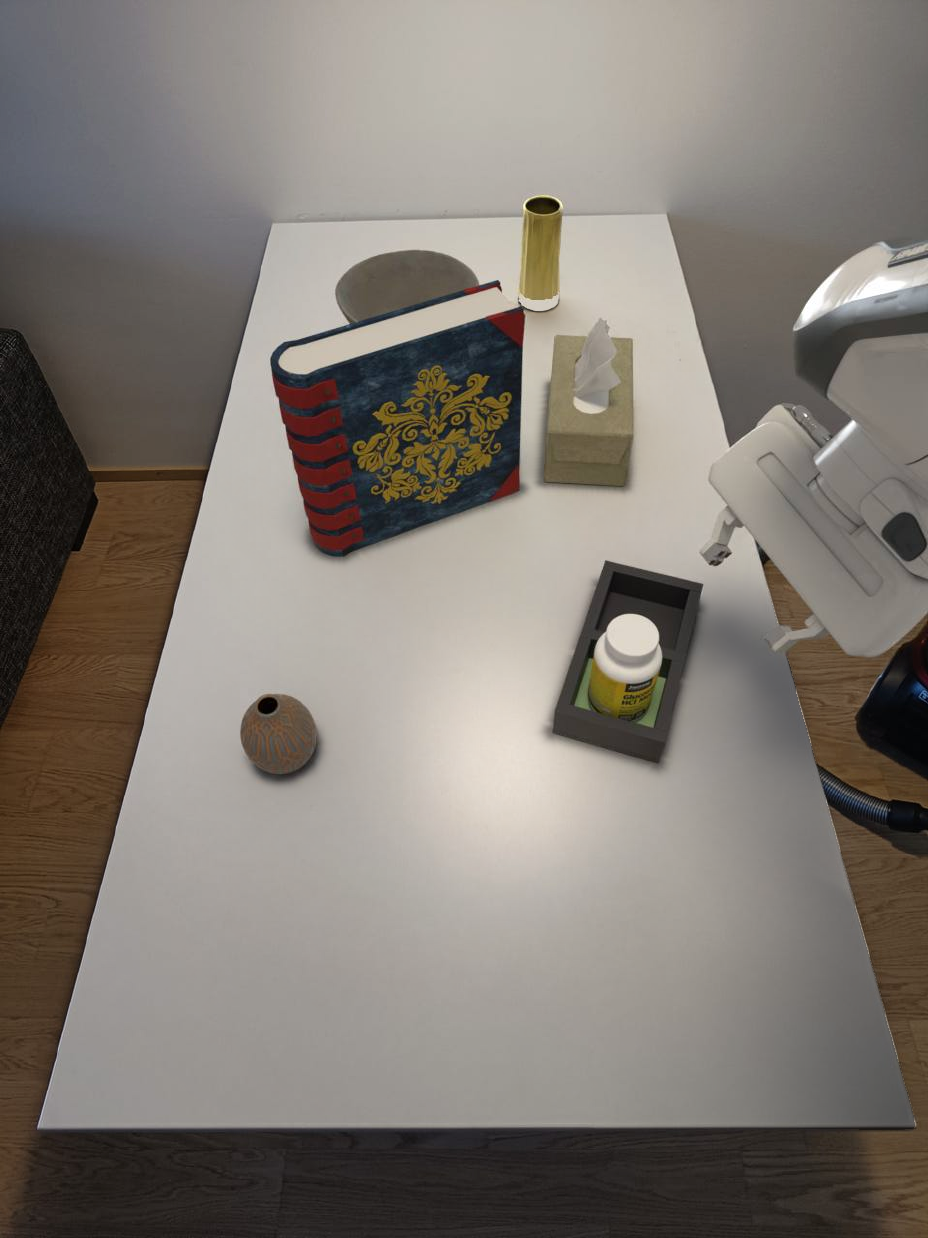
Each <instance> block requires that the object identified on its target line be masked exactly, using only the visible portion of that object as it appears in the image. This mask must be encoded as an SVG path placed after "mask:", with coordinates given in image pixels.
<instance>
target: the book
mask: <svg viewBox="0 0 928 1238" xmlns="http://www.w3.org/2000/svg"><path fill="white" fill-rule="evenodd" d="M500 281H501V280H499V279H496V280H493V281H489V282H485V283H483V284H479V285H478V286H475V287H471V288H467V289H464V290H462V291H459V292H456V293H452V294H449V295H446V296H442V297H439V298H435V299H432V300H429V301H425V302H422V303H419V304H415V305H412V306H409V307H405V308H402V309H399V310H395V311H392V312H389V313H385V314H382V315H379V316H375V317H372V318H368V319H365V320H362V321H358V322H355V323H352V324H350V323H349V324H345V325H341V326H338V327H335V328H331V329H329V330H325V331H322V332H318V333H315V334H313V335H308V336H305V337H302V338H298V339H294V340H293V339H292V340H288V341H283V342H282V343H281V344H279V345H278V346H277V347H276V348H275V349H274V351H272V353H271V356H270V359H269V361H270V370H271V378H272V383H273V389H274V393H275V396H276V397H277V398H278V405H279V411H280V412H279V413H280V416H281V422H282V424H283V425H284V426H285V427H284V429H285V435H286V440H287V444H288V449H289V450H290V451H291V456H292V462H293V468H294V469H293V470H294V471H295V473H296V476H297V477H296V478H297V484H298V490H299V492H300V495H301V497H302V501H303V509H304V512H305V516H306V518H307V520H308V528H309V533H310V536H311V539H312V541H313V542H314V544H315V546H316V548H317V549H318V550H319V551H321V553H324V554H326V555H329V556H333V557H345V556H346V555H348V554H349V553H352V552H353V551H357V550H359V549H361V548H364V547H367V546H370V545H372V544H376V543H378V542H381V541H383V540H386V539H390V538H392V537H394V536H397V535H400V534H403V533H406V532H409V531H412V530H413V529H417V528H419V527H423V526H425V525H428V524H431V523H433V522H436V521H439V520H442V519H445V518H447V517H450V516H452V515H456V514H458V513H460V512H463V511H466V510H469V509H472V508H476V507H477V506H480V505H483V504H486V503H488V502H490V503H491V502H492V501H495V500H498V499H501V498H504V497H506V496H509V495H512V494H514V493H517V492H519V491H520V470H521V469H520V468H521V431H522V428H521V427H522V394H523V390H522V389H523V356H524V355H523V353H524V349H523V348H524V336H525V324H526V314H525V308H523V307H522V306H521V305H520V306H517V307H515V306H514V305H513V304H512V302H510V300H509V299H508V298H507V296H505V294H504V293H503V288H502V286H501V282H500Z"/></svg>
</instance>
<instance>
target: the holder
mask: <svg viewBox="0 0 928 1238" xmlns="http://www.w3.org/2000/svg"><path fill="white" fill-rule="evenodd" d="M603 563H604V564H603V566H602V569H601V572H600V575H599V578H598V581H597V584H596V587H595V590H594V593H593V596H592V599H591V602H590V605H589V607H588V610H587V613H586V617H585V619H584V623H583V626H582V629H581V632H580V635H579V637H578V640H577V643H576V646H575V650H574V653H573V655H572V657H571V658H572V659H571V661H570V664H569V667H568V671H567V673H566V675H565V679H564V682H563V686H562V687H561V691H560V694H559V697H558V700H557V703H556V706H555V709H554V714H553V724H552V725H553V726H552V734H555V735H560V736H563V737H566V738H569V739H572V740H575V741H580V742H582V743H586V744H590V745H594V746H596V747H600V748H603V749H607V750H611V751H614V752H617V753H621V754H624V755H628V756H632V757H635V758H638V759H641V760H646V761H649V762H651V763H654V764H655V763H656V764H659V762H660V759H661V755H662V752H663V750H664V747H665V743H666V739H667V735H668V731H669V727H670V722H671V719H672V716H673V715H672V714H673V711H674V707H675V703H676V699H677V695H678V691H679V686H680V682H681V678H682V674H683V670H684V666H685V661H686V657H687V653H688V650H689V646H690V641H691V638H692V633H693V628H694V625H695V620H696V616H697V614H698V608H699V605H700V600H701V596H702V593H703V589H704V583H701V582H698V581H693V580H689V579H684V578H681V577H677V576H672V575H668V574H664V573H660V572H657V571H656V572H655V571H652V570H647V569H643V568H640V567H639V568H638V567H636V566H631V565H628V564H627V565H626V564H622V563H618V562H615V561H610V560H604V562H603ZM624 614H637V615H641V616H643V617H645V618H647V619H649V620H650V621H651V622H652V623H653V624H654V625H655V626H656V628H657V630H658V632H659V645H660V648H661V651H662V664H661V667H660V671H659V674H658V678H657V682H656V685H655V689H654V692H653V696H652V699H651V703H650V706H649V708H648V710H647V712H646V713H645V715H644V716H643V717H642V718H640V719H639V720H637V721H635V722H631V721H627V720H623V719H620V718H616V717H613V716H609V715H606V714H602V713H598V712H595V711H593V710H592V708H591V707H590V704H589V702H588V686H589V680H590V674H591V669H592V663H593V657H594V651H595V647H596V644H597V641H598V640H599V638H600V637H601V636H602V635H603V634H604V633H605V632H606V631H607V627H608V625H609V624H610V622H611V621H612V620H613V619H615V618H616V617H618V616H621V615H624Z"/></svg>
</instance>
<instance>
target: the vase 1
mask: <svg viewBox="0 0 928 1238" xmlns="http://www.w3.org/2000/svg"><path fill="white" fill-rule="evenodd" d="M239 735H240V743H241V746H242V748H243V751H244V753H245V754H246V756H247V758H248V760H250V762H251V763H252V764H253V765H255V766H256V767H257V768H259V769H260V770H262V771H264V772H266V773H270V774H276V775H283V774H284V775H285V774H289V773H292V772H294V771H297V770H299V769H300V768H302V767H303V766H304V765H305V764H306V763H307V762H308V761H309V759H311V756H312V755H313V753H314V751H315V748H316V745H317V739H318V733H317V726H316V722H315V719H314V716H313V715H312V713H311V711H310V710H309V708H307V707H306V705H305V704H304V703H303V702H302V701H300V700H299V699H297V698H295V697H293V696H291V695H289V694H284V693H266V694H262V695H261V696H259V697H258V698H257V699H256V700H255V701H253V703H251V704H250V705H249V706H248V708H247V710H246V711H245V713H244V714H243V717H242V720H241V723H240V734H239Z"/></svg>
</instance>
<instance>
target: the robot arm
mask: <svg viewBox="0 0 928 1238" xmlns="http://www.w3.org/2000/svg"><path fill="white" fill-rule="evenodd" d="M791 340H792V341H791V344H792V345H791V346H792V349H791V350H792V361H793V369H794V374H795V377H796V378H798V379H799V380H800V381H802V383H804V384H805V385H807V386H808V387H810V389H812V390H813V391H815V392H816V393H817V394H819V395H820V396H821V397H823V398H824V399H825V400H827V401H831V402H832V403H833V404H834V405H835V406H836V407H838V408H839V409H840V410H841V411H842V412H843V413H844V414H845V415H847V416H848V417H849V418H850V419H851V420H849V422H847V423H846V424H844V426H843V427H842V428H841V429H840V430H839V431H838V432H837V433H836V434H835V435H834V436H833V435H832V434H831V433H830V432H829V431H828V430H827V429H826V427H824V426H823V425H822V424H820V423H819V422H818V421H817V420H816V419H815V418H814V417H813V414H812V413H811V411H809V409H807V408H806V407H805V406H804V405H802V404H793V403H789V402H788V403H787V402H786V403H780V404H777V405H775V406H773V407H772V408H771V409H770V410H769V411H768V412H767V413H766V414H765V415H764V416H763V417H762V418H761V419H760V420H759V421H758V422H757V424H756V426H755V428H754V429H752V430H751V431H750V432H748V433H747V434H745V435H744V436H743V437H741V438H740V439H739V440H738V441H736V442H735V443H733V445H731V447H729V448H727V450H726V451H725V452H723V454H721V455H720V456H719V457H718V458H717V459H716V460H715V461H714V462H713V463H712V464H711V465H710V469H709V474H708V478H707V479H708V483H709V484H710V485H711V486H712V488H713V489H714V490H715V492H716V493H717V494H718V495H719V496H720V498H721V499H722V500H723V501H724V503H725V504H726V507H724V508H722V510H721V511H720V512H719V513H718V515H717V518H716V521H715V524H714V528H713V531H712V534H711V539H709V540H708V542H707V543H705V545H703V547H701V548H700V550H699V554H700V556H701V557H702V558H703V559H704V560H705V562H706V563H707V564H708V565H709V566H712V567H718V566H720V565H721V564H722V563H723V562H724V560H725V559H727V558H729V557H730V556H732V554H733V551H732V550H731V549H730V548H729V543H730V541H731V539H732V536H733V533H734V531H735V528H739V529H742V528H743V527H745V529H746V530H747V532H748V533H749V534H750V535H751V536H752V538H753V539H754V541H755V542H756V543H757V544H758V545H759V547H760V548H761V550H762V551H764V553H765V554H766V556H767V557H768V558H769V559H770V561H771V562H772V563H773V565H774V566H775V567H776V568H777V569H778V571H779V572H780V573H781V575H783V577H784V578H785V579H786V580H787V582H788V583H789V584H790V585H791V587H792V588H793V589H794V591H795V592H796V593H797V595H799V597H800V598H801V600H803V602H804V603H805V604H806V605H807V607H808V608H809V609H810V611H811V612H813V614H811V615H810V616H809V617H808V618H807V619H806V620H804V625H805V626H806V627H807V628H803V629H797V630H793V629H792V628H791V626H790V625H782V624H778V625H777V626H776V627H774V628H773V629H772V631H771V633H767V634H766V635H765V636H764V641H765V642H766V643H767V645H768V646H769V648H770V649H771V650H772V652H773V653H774V654H780V655H781V654H784V653H786V652H787V651H789V650H790V649H791V648H792V647H794V645H796V644H797V643H798V642H805V641H810V640H811V641H812V640H817V639H824V638H827V637H828V636H830V635H831V637H832V638H833V639H834V640H835V642H836V643H837V644H838V646H839V647H840V648H841V649H842V651H843V652H844V653H845V654H846V655H848V656H850V657H856V658H866V659H867V658H869V659H870V658H876V657H879V656H881V655H883V654H884V653H886V652H887V651H888V650H890V649H891V648H892V647H893V646H895V645H896V644H897V643H898V642H899V641H901V640H902V639H903V638H904V637H905V636H907V634H909V633H910V631H911V630H912V629H913V628H915V627H916V626H917V625H918V623H920V621H921V620H923V619H924V617H925V616H927V614H928V236H925V237H924V236H922V235H921V236H920V235H919V236H917V235H916V236H901V237H893V238H886V239H883V240H879V241H877V242H875V243H872V244H871V245H870V246H869V247H867V248H865V249H864V250H861V251H859V252H858V253H856V254H854V255H853V256H851V257H850V258H848V259H847V260H845V261H844V262H843V263H841V264H840V265H839V266H838V267H837V268H835V269H834V271H833V272H831V273H830V274H829V275H828V276H827V278H825V280H824V281H822V282H821V284H820V285H819V286H818V287H817V288H816V290H815V291H814V292H813V293H812V294H811V296H810V297H809V299H808V300H807V301H806V303H805V305H804V306H803V308H802V310H801V312H800V314H799V316H798V318H797V320H796V322H795V324H794V325H793V327H792V337H791ZM788 409H789V410H788ZM790 410H791V411H790Z"/></svg>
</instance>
